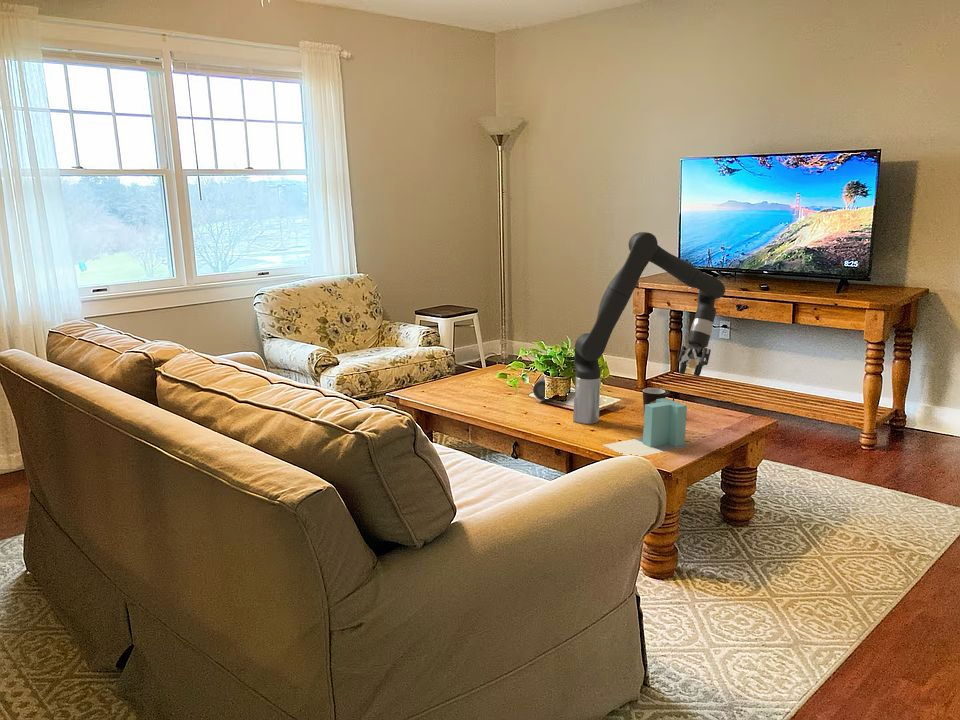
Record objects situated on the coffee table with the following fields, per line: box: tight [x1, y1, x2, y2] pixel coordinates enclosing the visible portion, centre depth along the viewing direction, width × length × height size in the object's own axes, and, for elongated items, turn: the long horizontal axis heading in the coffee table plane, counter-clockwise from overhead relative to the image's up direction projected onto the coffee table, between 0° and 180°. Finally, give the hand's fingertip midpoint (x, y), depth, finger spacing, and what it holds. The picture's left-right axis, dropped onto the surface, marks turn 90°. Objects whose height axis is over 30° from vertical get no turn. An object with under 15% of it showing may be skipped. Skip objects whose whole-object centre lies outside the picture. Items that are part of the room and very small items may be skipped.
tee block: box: [642, 397, 688, 447], centre depth 271 cm, size 12×11×14 cm
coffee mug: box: [642, 387, 675, 412], centre depth 305 cm, size 12×9×10 cm
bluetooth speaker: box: [532, 376, 546, 401], centre depth 332 cm, size 23×9×10 cm, turn 157°
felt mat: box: [602, 436, 691, 457], centre depth 270 cm, size 26×15×1 cm, turn 118°
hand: (688, 374), depth 290 cm, fingers open, 8 cm apart
